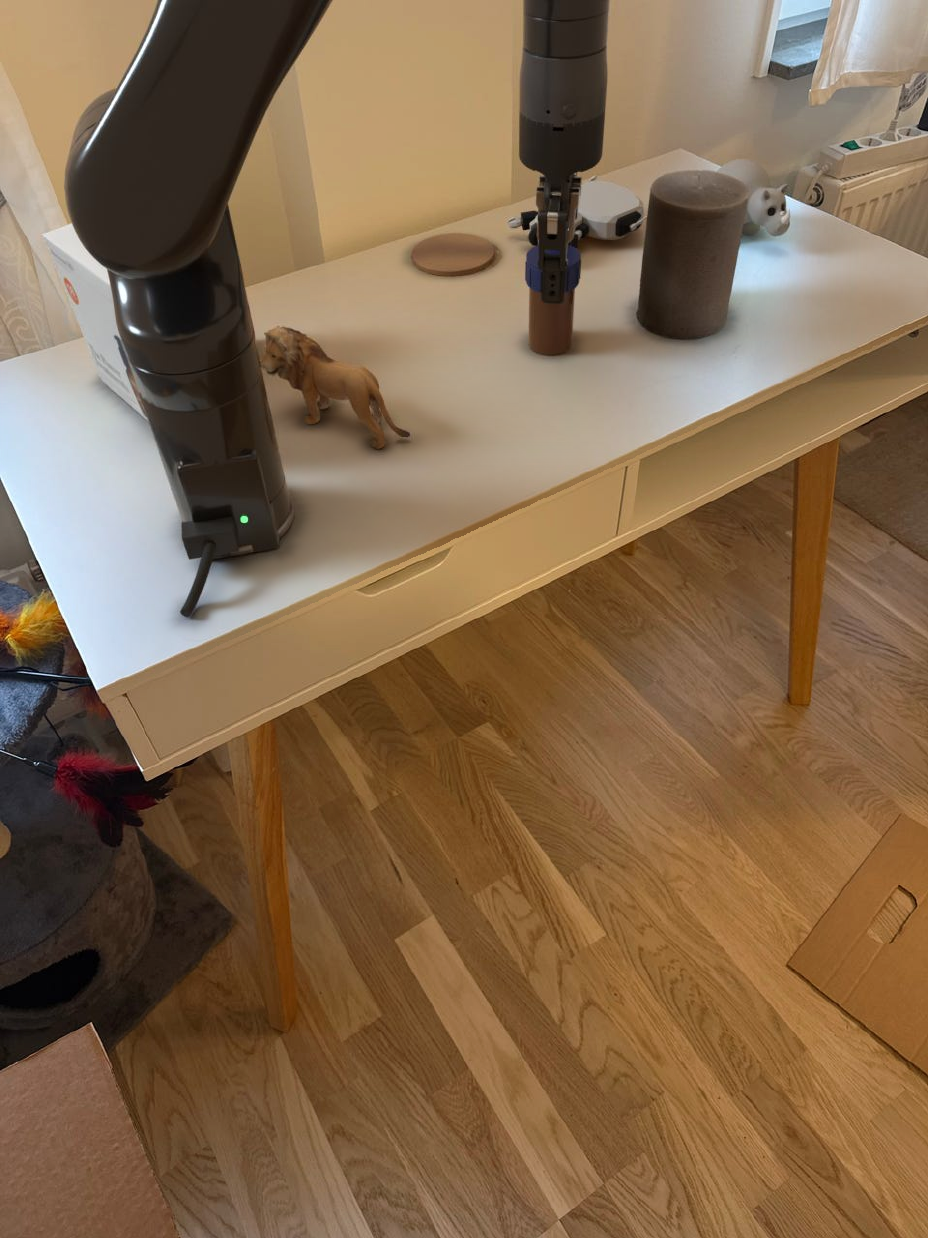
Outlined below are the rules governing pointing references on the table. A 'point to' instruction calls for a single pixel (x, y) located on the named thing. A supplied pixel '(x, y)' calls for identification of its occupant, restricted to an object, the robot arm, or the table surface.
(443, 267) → the coaster
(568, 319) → the jar
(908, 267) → the table surface
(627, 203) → the robot toy
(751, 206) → the toy rhinoceros
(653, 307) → the pillar candle
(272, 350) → the lion figurine
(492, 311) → the table surface
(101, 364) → the skincare box
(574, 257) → the lid
